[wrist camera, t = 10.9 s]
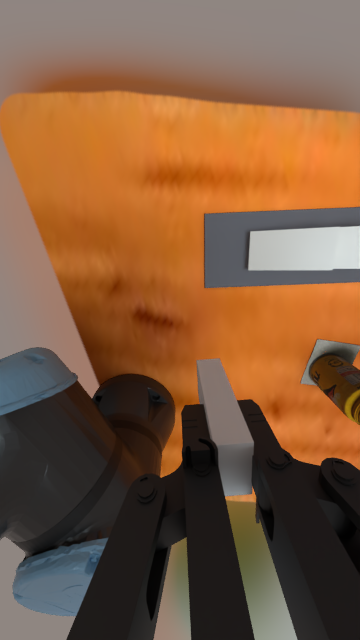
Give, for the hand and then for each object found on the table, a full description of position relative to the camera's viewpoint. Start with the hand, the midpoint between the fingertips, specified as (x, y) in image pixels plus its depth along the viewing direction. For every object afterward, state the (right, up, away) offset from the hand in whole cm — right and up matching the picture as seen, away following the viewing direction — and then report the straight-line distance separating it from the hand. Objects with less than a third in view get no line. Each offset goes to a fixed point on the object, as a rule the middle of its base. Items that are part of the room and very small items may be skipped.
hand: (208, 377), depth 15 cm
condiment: (+23, -4, +23) cm, 33 cm away
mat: (+18, +14, +17) cm, 28 cm away
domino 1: (+8, +13, +16) cm, 22 cm away
